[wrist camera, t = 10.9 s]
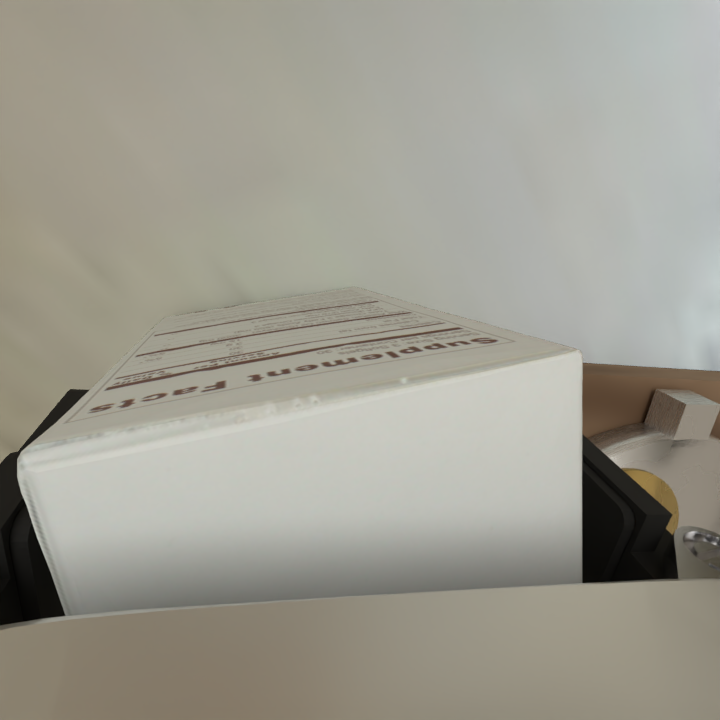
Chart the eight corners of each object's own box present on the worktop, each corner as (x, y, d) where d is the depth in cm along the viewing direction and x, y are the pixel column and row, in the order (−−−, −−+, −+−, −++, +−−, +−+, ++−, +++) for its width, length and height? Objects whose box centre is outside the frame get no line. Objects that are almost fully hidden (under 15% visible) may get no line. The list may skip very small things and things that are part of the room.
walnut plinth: (674, 655, 31) (722, 709, 28) (386, 689, 26) (404, 758, 23) (803, 376, 25) (885, 404, 22) (455, 355, 20) (493, 387, 17)
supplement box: (378, 453, 20) (594, 749, 8) (199, 494, 18) (147, 940, 7) (359, 280, 18) (604, 343, 6) (157, 309, 17) (-21, 464, 5)
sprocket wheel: (810, 547, 27) (951, 639, 22) (546, 741, 28) (617, 875, 23) (703, 302, 20) (878, 347, 14) (351, 580, 21) (386, 721, 15)
